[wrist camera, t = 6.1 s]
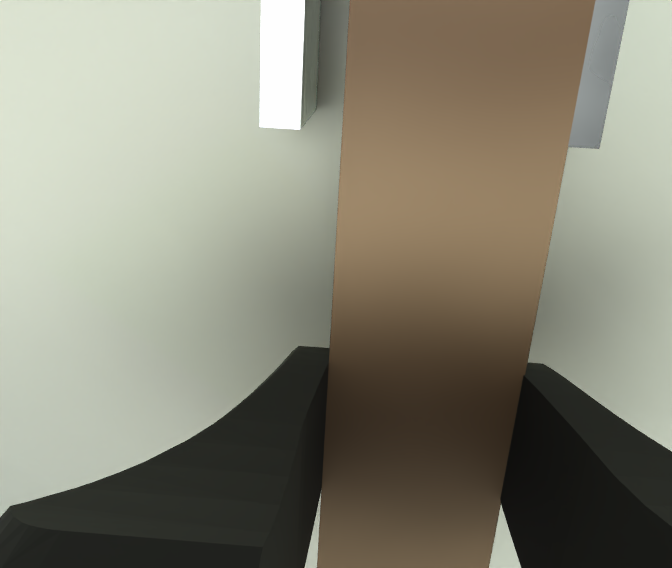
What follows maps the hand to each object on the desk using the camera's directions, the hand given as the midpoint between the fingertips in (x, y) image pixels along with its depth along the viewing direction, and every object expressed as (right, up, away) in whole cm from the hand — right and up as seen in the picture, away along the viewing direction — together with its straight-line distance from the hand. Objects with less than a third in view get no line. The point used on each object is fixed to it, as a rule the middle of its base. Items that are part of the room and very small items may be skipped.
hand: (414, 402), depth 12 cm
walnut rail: (0, +2, +4) cm, 5 cm away
